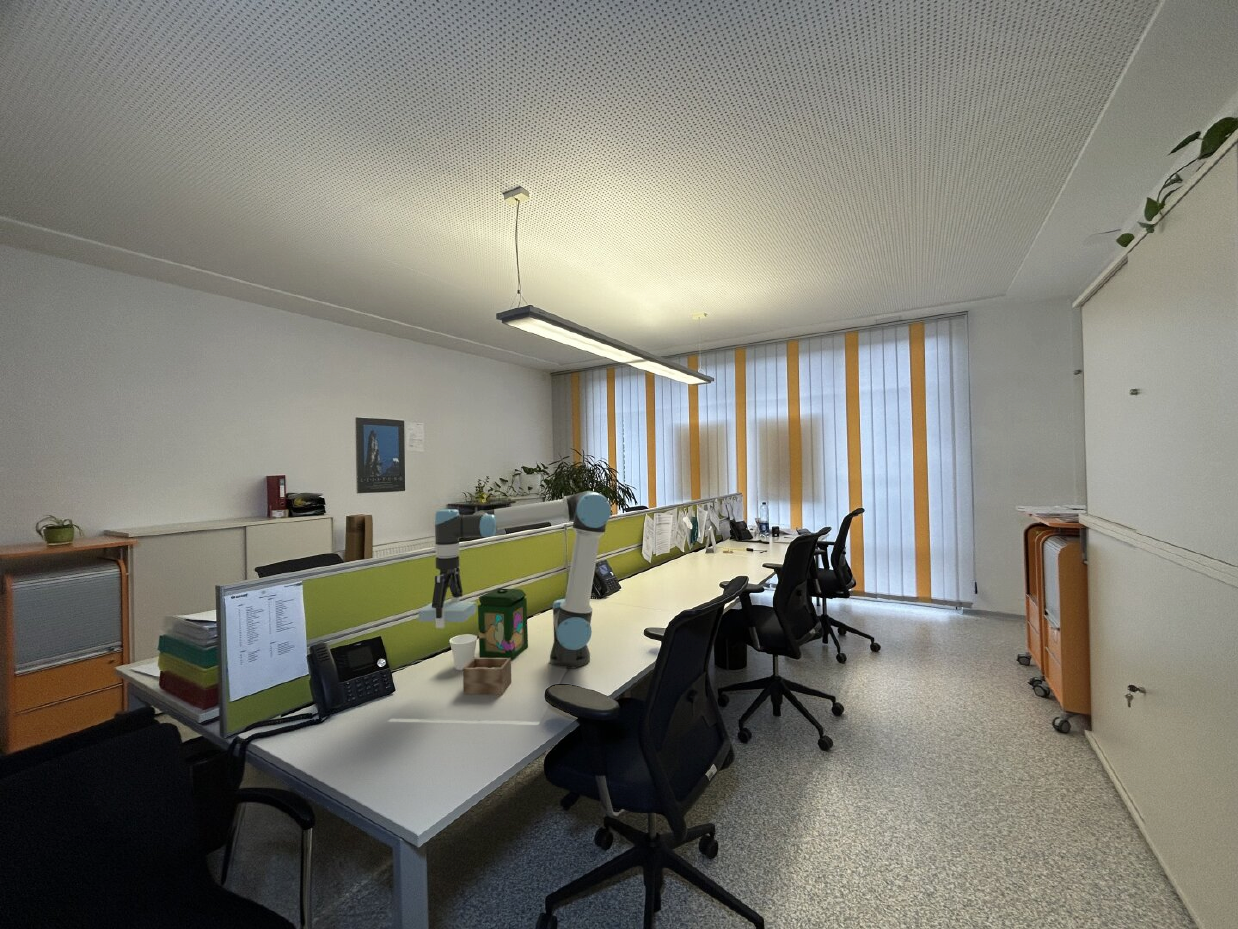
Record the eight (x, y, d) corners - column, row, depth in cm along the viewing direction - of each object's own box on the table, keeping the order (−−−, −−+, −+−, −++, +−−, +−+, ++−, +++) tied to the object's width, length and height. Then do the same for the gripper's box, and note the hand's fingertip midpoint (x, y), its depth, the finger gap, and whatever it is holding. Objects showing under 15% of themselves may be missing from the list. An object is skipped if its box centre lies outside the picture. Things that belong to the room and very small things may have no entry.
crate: (511, 684, 167) (510, 658, 167) (502, 697, 158) (501, 669, 158) (474, 684, 168) (473, 657, 168) (463, 696, 159) (462, 668, 159)
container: (495, 643, 206) (493, 584, 206) (533, 647, 201) (531, 586, 201) (475, 657, 192) (473, 593, 192) (516, 661, 187) (513, 595, 187)
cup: (470, 675, 176) (469, 644, 176) (444, 673, 178) (443, 643, 178) (483, 663, 185) (482, 634, 185) (459, 662, 187) (458, 633, 187)
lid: (476, 612, 169) (476, 601, 169) (463, 622, 158) (463, 611, 158) (434, 611, 170) (434, 601, 170) (418, 621, 159) (418, 610, 159)
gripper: (451, 550, 176) (452, 611, 176) (419, 563, 153) (420, 633, 153) (471, 550, 175) (472, 611, 175) (442, 563, 152) (443, 634, 152)
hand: (448, 621), depth 164 cm, fingers closed on lid, 11 cm apart
